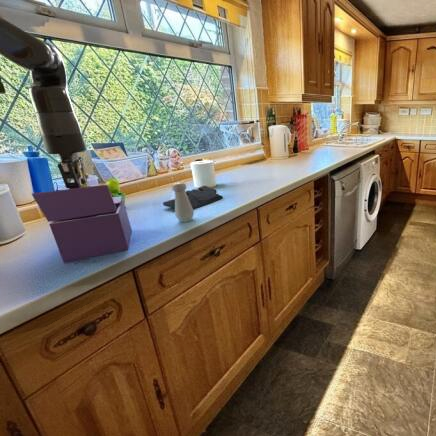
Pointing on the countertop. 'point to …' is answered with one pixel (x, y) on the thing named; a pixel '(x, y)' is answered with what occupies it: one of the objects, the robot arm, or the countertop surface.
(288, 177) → the countertop surface
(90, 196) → the flap
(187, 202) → the salt shaker
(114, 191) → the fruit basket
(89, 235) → the carton
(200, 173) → the toilet paper
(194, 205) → the dark slate chunk
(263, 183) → the countertop surface
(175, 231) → the countertop surface
